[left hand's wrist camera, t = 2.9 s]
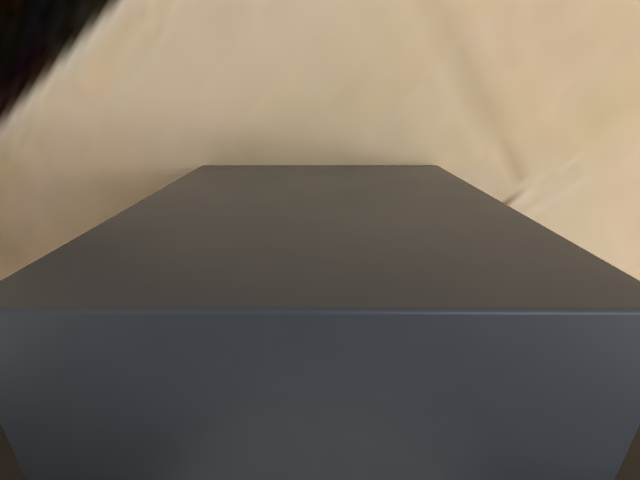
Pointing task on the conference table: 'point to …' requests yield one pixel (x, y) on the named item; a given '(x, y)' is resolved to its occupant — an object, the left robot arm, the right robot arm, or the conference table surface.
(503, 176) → the conference table surface
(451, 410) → the box
